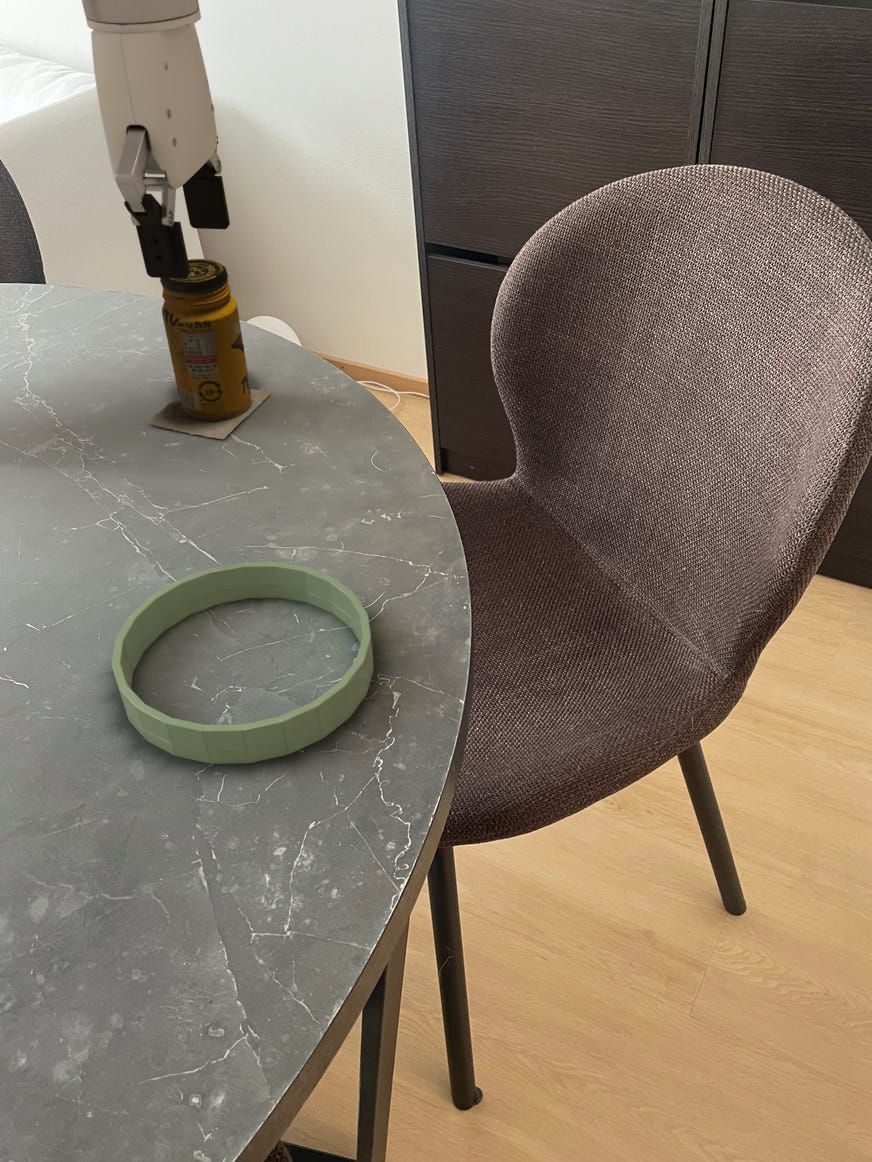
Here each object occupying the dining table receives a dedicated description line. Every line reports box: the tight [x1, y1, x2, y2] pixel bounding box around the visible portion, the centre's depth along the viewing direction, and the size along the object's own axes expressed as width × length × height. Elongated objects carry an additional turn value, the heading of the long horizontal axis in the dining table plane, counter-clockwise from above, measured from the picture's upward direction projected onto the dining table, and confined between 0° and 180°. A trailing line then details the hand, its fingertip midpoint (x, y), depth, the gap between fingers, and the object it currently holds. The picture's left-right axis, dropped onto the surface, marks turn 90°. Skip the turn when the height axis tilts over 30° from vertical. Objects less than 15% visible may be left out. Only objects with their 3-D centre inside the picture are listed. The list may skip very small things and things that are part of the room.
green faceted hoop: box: [111, 561, 375, 765], centre depth 63 cm, size 15×15×4 cm
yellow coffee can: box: [146, 258, 271, 440], centre depth 86 cm, size 7×8×12 cm
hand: (191, 250), depth 81 cm, fingers open, 9 cm apart
